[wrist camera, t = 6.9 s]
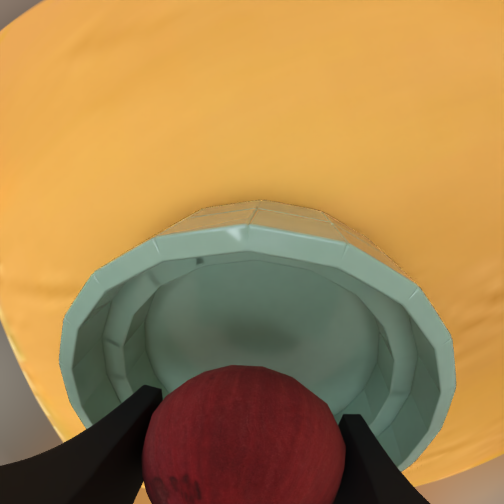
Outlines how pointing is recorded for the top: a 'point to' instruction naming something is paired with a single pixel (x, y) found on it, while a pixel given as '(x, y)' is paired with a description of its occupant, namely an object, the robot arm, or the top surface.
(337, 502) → the robot arm
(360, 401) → the bowl
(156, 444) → the onion
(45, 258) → the top surface
